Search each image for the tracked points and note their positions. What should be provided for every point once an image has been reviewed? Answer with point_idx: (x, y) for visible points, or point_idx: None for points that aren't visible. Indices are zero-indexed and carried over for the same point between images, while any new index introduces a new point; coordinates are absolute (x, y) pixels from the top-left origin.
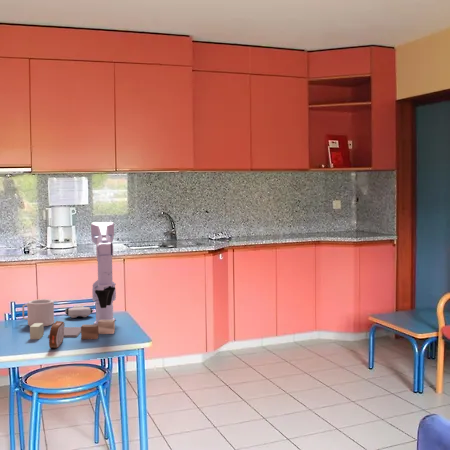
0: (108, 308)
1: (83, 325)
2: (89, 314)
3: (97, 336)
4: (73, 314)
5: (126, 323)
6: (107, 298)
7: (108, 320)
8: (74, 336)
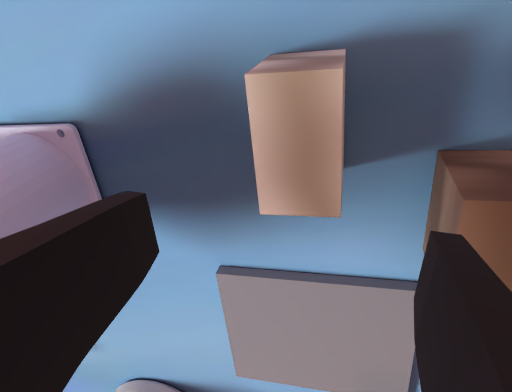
0: None
1: None
2: None
3: (495, 156)
4: None
5: (12, 19)
6: (500, 366)
7: (282, 132)
8: None
